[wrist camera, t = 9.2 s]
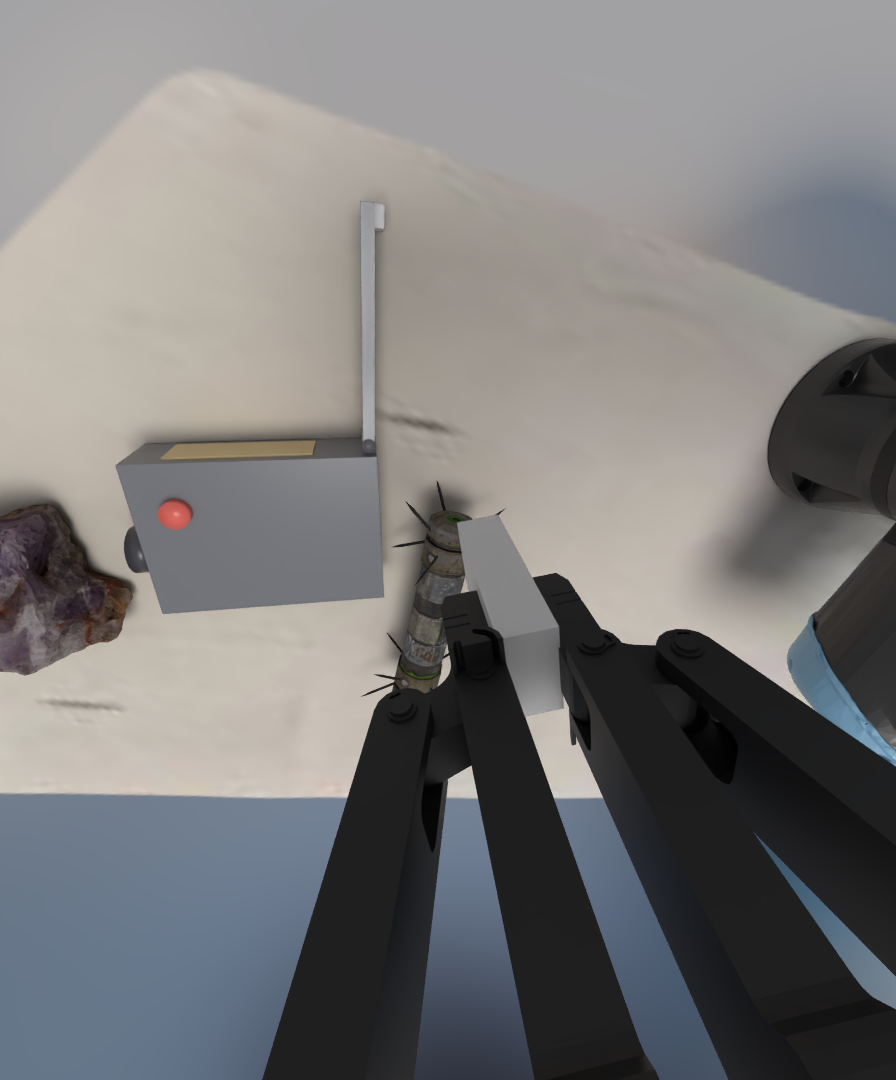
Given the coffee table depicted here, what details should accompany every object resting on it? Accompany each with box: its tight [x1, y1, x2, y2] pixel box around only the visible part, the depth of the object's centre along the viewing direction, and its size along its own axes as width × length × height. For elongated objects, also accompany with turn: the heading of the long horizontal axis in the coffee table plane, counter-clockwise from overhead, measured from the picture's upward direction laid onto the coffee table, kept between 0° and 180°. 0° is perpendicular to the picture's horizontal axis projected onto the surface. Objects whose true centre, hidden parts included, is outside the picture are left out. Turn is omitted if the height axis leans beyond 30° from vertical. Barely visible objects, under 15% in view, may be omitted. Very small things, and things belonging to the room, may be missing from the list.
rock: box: [0, 505, 133, 675], centre depth 35 cm, size 12×9×10 cm
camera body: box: [115, 438, 384, 614], centre depth 37 cm, size 19×12×6 cm, turn 89°
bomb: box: [361, 481, 506, 697], centre depth 43 cm, size 11×10×30 cm
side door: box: [360, 201, 384, 454], centre depth 33 cm, size 15×2×5 cm, turn 176°
